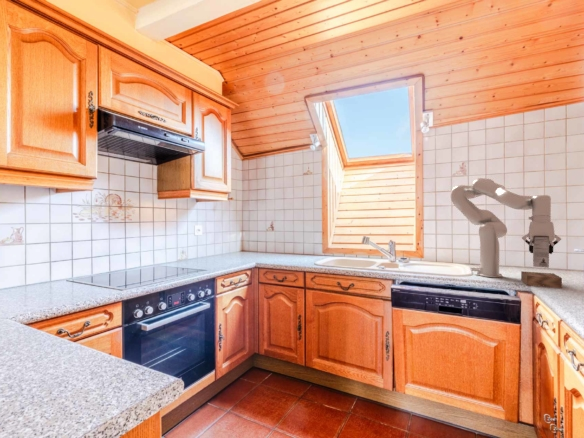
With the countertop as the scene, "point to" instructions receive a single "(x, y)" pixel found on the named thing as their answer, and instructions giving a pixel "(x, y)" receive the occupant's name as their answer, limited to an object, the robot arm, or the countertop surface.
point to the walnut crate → (541, 279)
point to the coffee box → (541, 251)
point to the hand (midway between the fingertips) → (540, 253)
